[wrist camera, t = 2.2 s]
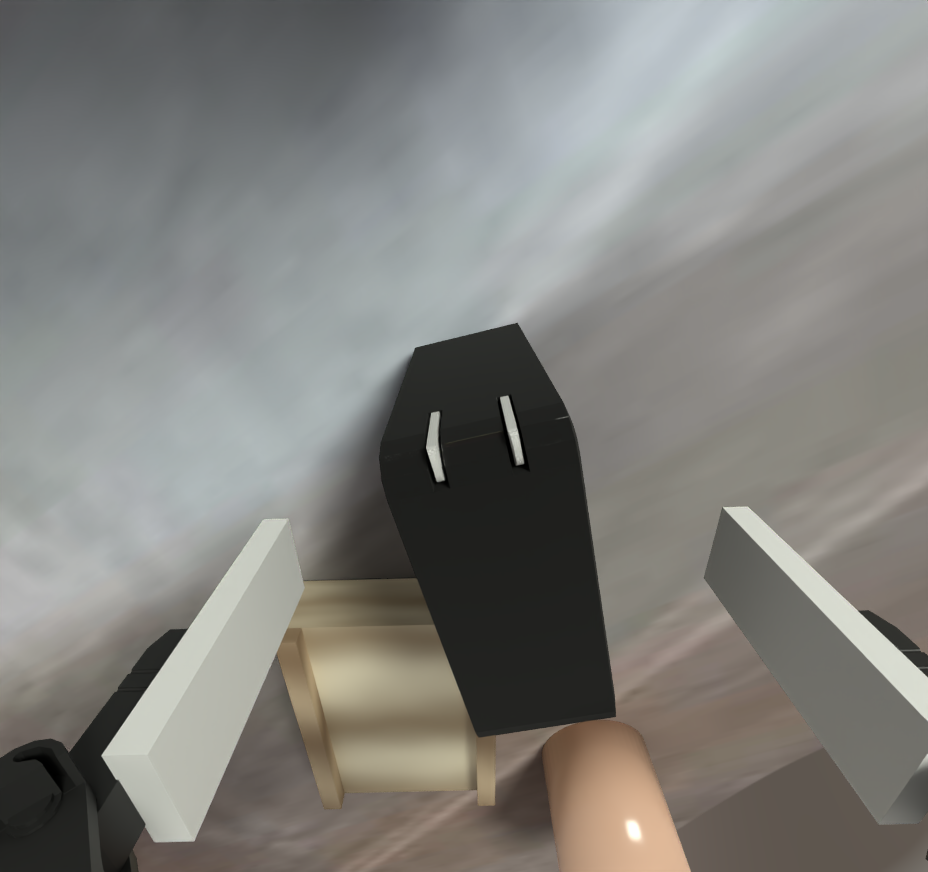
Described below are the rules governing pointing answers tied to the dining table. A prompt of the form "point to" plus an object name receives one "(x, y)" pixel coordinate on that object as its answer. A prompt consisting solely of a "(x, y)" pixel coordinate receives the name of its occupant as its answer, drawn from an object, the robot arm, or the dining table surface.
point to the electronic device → (499, 531)
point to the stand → (379, 694)
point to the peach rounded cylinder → (608, 802)
